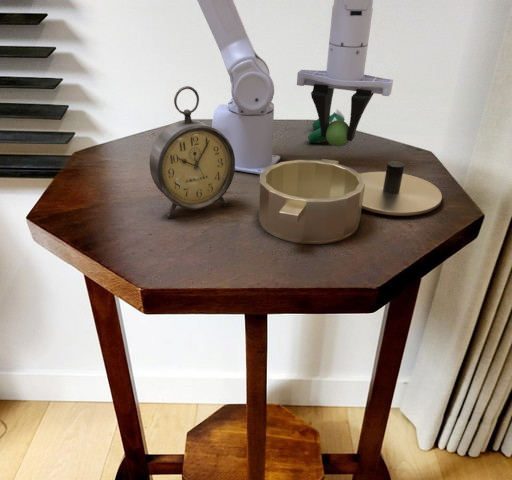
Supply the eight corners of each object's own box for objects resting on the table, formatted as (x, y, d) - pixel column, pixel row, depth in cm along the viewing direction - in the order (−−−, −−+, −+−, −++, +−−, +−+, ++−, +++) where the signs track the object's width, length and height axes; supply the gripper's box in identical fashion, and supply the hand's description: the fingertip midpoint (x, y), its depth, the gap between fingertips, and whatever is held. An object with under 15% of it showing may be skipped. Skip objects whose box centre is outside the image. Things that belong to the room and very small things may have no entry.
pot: (236, 241, 70) (235, 198, 66) (284, 186, 83) (286, 148, 80) (339, 262, 66) (344, 218, 62) (371, 201, 80) (377, 161, 76)
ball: (321, 147, 88) (323, 122, 86) (328, 140, 91) (330, 115, 89) (345, 151, 87) (348, 126, 85) (351, 143, 90) (354, 118, 88)
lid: (329, 208, 77) (333, 174, 74) (353, 172, 88) (357, 141, 85) (433, 227, 73) (442, 191, 70) (445, 187, 84) (453, 154, 81)
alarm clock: (164, 224, 73) (151, 96, 63) (151, 208, 77) (136, 85, 66) (237, 209, 77) (236, 86, 67) (221, 194, 81) (218, 76, 70)
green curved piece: (318, 155, 99) (344, 133, 96) (305, 138, 98) (331, 116, 94) (323, 138, 106) (348, 118, 103) (311, 123, 105) (336, 101, 101)
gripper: (402, 43, 81) (386, 135, 89) (309, 34, 85) (302, 123, 93) (393, 52, 76) (378, 149, 84) (295, 42, 80) (289, 136, 88)
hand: (337, 137), depth 88 cm, fingers closed on ball, 4 cm apart
